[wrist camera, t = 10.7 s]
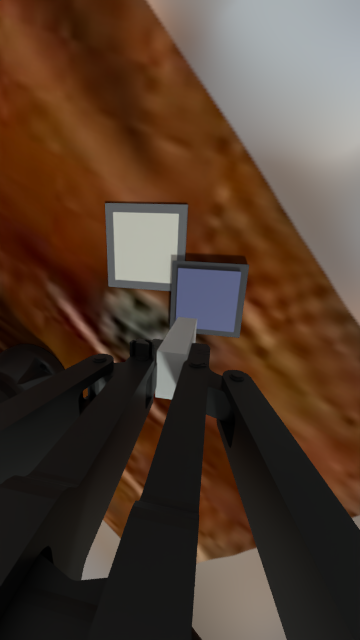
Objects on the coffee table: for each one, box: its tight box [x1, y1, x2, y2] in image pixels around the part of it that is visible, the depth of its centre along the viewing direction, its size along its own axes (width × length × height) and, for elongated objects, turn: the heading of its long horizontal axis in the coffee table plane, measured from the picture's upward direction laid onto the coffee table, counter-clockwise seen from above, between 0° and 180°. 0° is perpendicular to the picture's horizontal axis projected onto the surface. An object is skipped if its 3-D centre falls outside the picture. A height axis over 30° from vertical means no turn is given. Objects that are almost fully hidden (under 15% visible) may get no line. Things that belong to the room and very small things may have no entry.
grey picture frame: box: [105, 203, 188, 291], centre depth 34 cm, size 12×12×1 cm
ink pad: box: [170, 260, 249, 338], centre depth 34 cm, size 11×11×2 cm
